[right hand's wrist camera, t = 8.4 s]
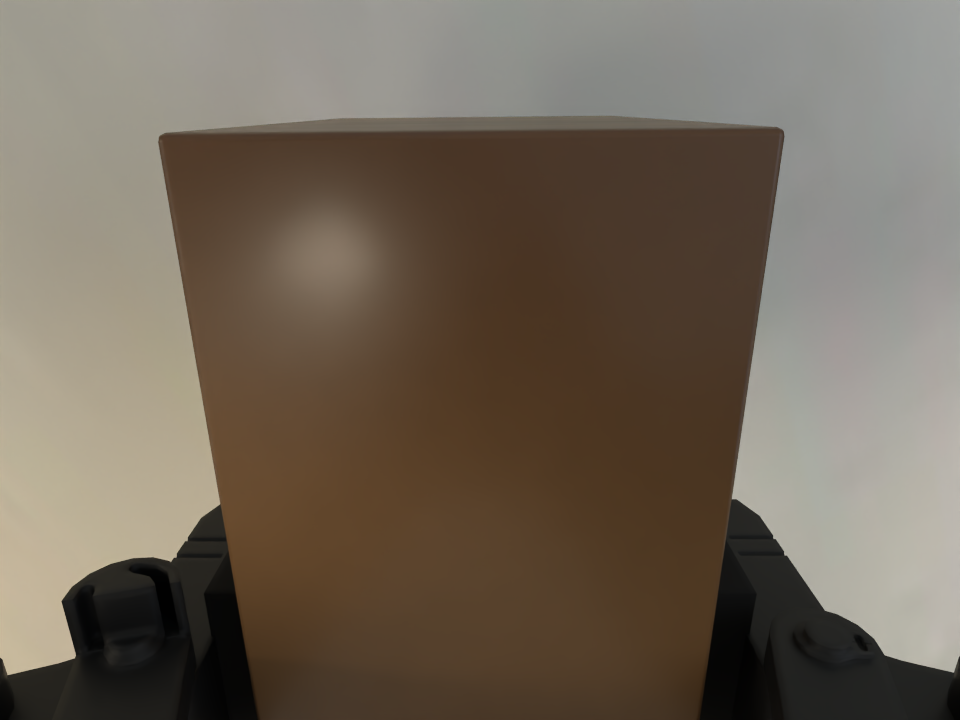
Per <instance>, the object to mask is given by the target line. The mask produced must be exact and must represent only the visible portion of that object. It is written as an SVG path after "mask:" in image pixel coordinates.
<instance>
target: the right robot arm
mask: <svg viewBox="0 0 960 720" xmlns="http://www.w3.org/2000/svg"><path fill="white" fill-rule="evenodd" d="M62 605H63V608H64V612H65V616H66V619H67V623H68V627H69V630H70V634H71V638H72V641H73V645H74V649H75V652H76V657H75V659H72V660H68V661H65V662H62V663H59V664H54V665H50V666H46V667H42V668H37V669H33V670H29V671H24V672H20V673H16V674H11V675H7V673H6V669H5V666H4V663H3V660H2V659H1V658H0V720H258V719H257V713H256V707H255V702H254V696H253V690H252V684H251V678H250V673H249V667H248V661H247V655H246V649H245V643H244V638H243V632H242V626H241V620H240V614H239V609H238V603H237V597H236V591H235V585H234V579H233V574H232V568H231V562H230V556H229V550H228V544H227V539H226V533H225V527H224V521H223V515H222V510H221V504H220V505H219V506H217V507H216V508H215V509H213V510H212V511H210V512H209V513H208V514H206V515H205V516H204V517H202V518H201V519H200V521H199V522H198V524H197V525H196V527H195V528H194V529H193V531H192V532H191V534H190V535H189V537H188V541H185V543H184V544H183V546H182V547H181V548H180V550H179V551H178V553H177V558H174V559H173V560H172V562H169V561H166V560H162V559H158V558H154V557H152V558H133V559H129V560H125V561H121V562H117V563H113V564H110V565H108V566H106V567H103V568H101V569H99V570H97V571H95V572H93V573H90V574H89V575H87V576H86V577H85V578H83V579H82V580H81V581H79V582H78V583H77V584H75V585H74V586H73V587H72V588H71V589H70V591H69V592H68V593H67V595H66V596H65V597H64V599H63V600H62ZM700 720H960V657H959V659H958V662H957V665H956V668H955V671H954V673H952V672H948V671H944V670H939V669H935V668H931V667H926V666H922V665H918V664H913V663H909V662H905V661H901V660H898V659H894V658H891V657H888V656H885V655H884V654H883V652H882V651H881V649H880V647H879V646H878V644H877V643H876V641H875V640H874V639H873V638H872V637H871V636H870V635H869V634H868V633H866V632H865V631H864V630H863V629H862V628H860V627H859V626H858V625H856V624H855V623H853V622H851V621H849V620H847V619H845V618H843V617H841V616H839V615H837V614H834V613H830V612H827V611H825V610H824V609H823V607H822V606H821V605H820V603H819V602H818V600H817V599H816V597H815V596H814V594H813V593H812V591H811V590H810V589H809V587H808V586H807V584H806V583H805V581H804V580H803V578H802V577H801V576H800V574H799V573H798V571H797V570H796V568H795V567H794V565H793V564H792V562H791V561H790V560H789V558H788V557H787V556H784V551H783V549H782V548H781V546H780V545H779V544H778V542H777V541H776V539H773V535H772V533H771V532H770V530H769V529H768V528H767V526H766V525H765V523H764V522H763V520H762V519H761V517H760V516H759V515H757V514H756V513H755V512H753V511H752V510H750V509H749V508H748V507H746V506H745V505H743V504H742V503H741V502H739V501H738V500H737V499H732V500H731V507H730V513H729V520H728V527H727V534H726V541H725V548H724V555H723V562H722V569H721V575H720V582H719V589H718V596H717V603H716V610H715V617H714V624H713V630H712V637H711V644H710V651H709V658H708V665H707V672H706V679H705V685H704V692H703V699H702V706H701V713H700Z"/></svg>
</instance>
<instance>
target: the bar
mask: <svg viewBox="0 0 960 720" xmlns="http://www.w3.org/2000/svg"><path fill="white" fill-rule="evenodd" d="M783 142H784V131H783V130H782V129H780V128H778V127H768V126H753V125H738V124H724V123H709V122H694V121H679V120H665V119H650V118H635V117H620V116H549V117H446V118H342V119H329V120H317V121H305V122H292V123H280V124H268V125H256V126H244V127H232V128H220V129H208V130H196V131H183V132H171V133H164V134H162V135H160V136H159V142H158V143H159V149H160V154H161V160H162V166H163V172H164V178H165V184H166V189H167V195H168V201H169V207H170V213H171V218H172V224H173V230H174V236H175V242H176V248H177V253H178V259H179V265H180V271H181V277H182V282H183V288H184V294H185V300H186V306H187V312H188V317H189V323H190V329H191V335H192V341H193V347H194V352H195V358H196V364H197V370H198V376H199V381H200V387H201V393H202V399H203V405H204V411H205V416H206V422H207V428H208V434H209V440H210V446H211V451H212V457H213V463H214V469H215V475H216V480H217V486H218V492H219V498H220V504H221V510H222V515H223V521H224V527H225V533H226V539H227V544H228V550H229V556H230V562H231V568H232V574H233V579H234V585H235V591H236V597H237V603H238V609H239V614H240V620H241V626H242V632H243V638H244V643H245V649H246V655H247V661H248V667H249V673H250V678H251V684H252V690H253V696H254V702H255V707H256V713H257V719H258V720H700V713H701V706H702V699H703V692H704V685H705V679H706V672H707V665H708V658H709V651H710V644H711V637H712V630H713V624H714V617H715V610H716V603H717V596H718V589H719V582H720V575H721V569H722V562H723V555H724V548H725V541H726V534H727V527H728V520H729V513H730V507H731V500H732V493H733V486H734V479H735V472H736V465H737V458H738V452H739V445H740V438H741V431H742V424H743V417H744V410H745V403H746V396H747V390H748V383H749V376H750V369H751V362H752V355H753V348H754V341H755V335H756V328H757V321H758V314H759V307H760V300H761V293H762V286H763V280H764V273H765V266H766V259H767V252H768V245H769V238H770V231H771V224H772V218H773V211H774V204H775V197H776V190H777V183H778V176H779V169H780V163H781V156H782V149H783Z"/></svg>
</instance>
